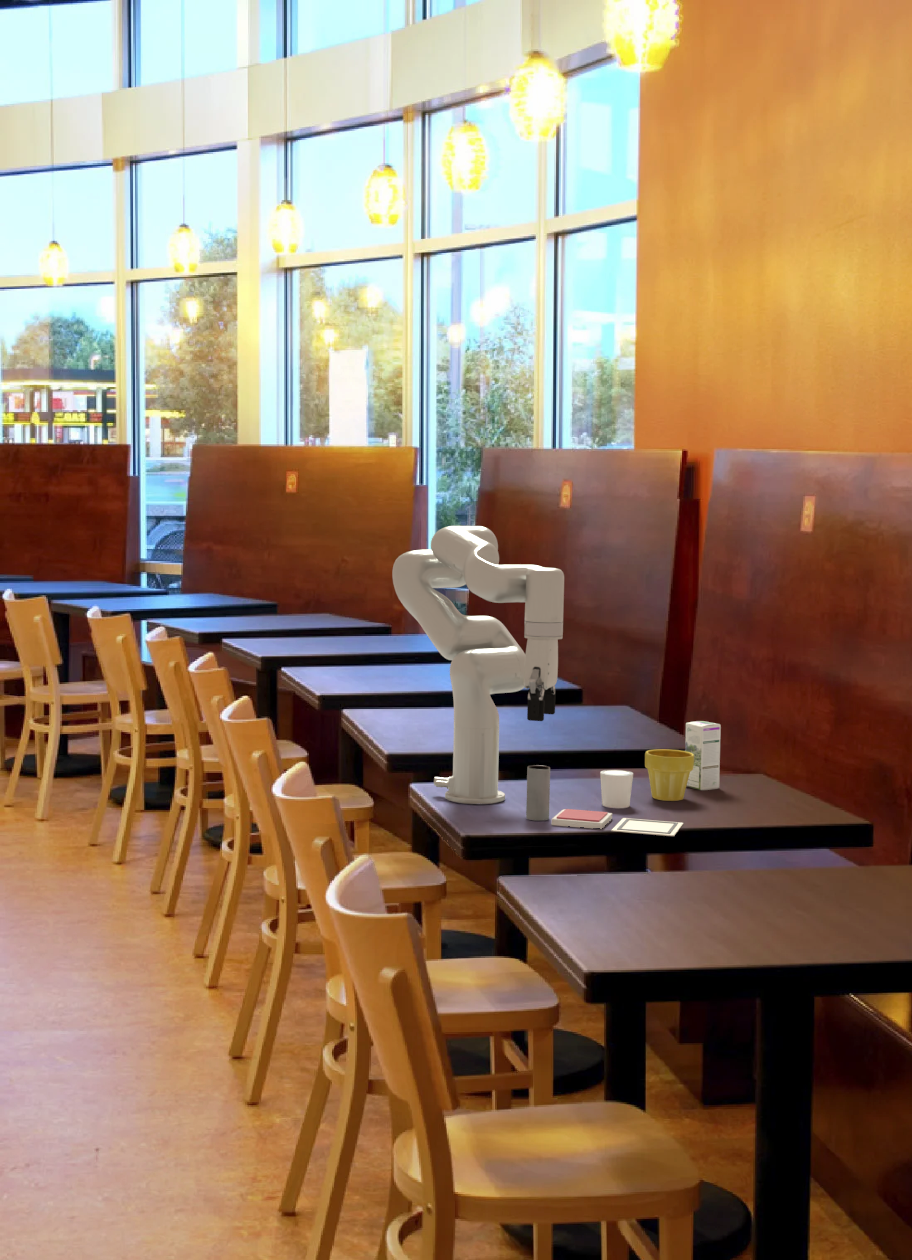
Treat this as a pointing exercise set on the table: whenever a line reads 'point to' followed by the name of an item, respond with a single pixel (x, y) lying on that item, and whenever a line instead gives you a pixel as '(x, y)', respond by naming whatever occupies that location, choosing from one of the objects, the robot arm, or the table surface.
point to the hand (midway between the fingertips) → (541, 717)
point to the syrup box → (703, 754)
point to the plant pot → (668, 773)
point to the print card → (647, 827)
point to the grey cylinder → (538, 792)
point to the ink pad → (581, 818)
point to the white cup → (616, 788)
